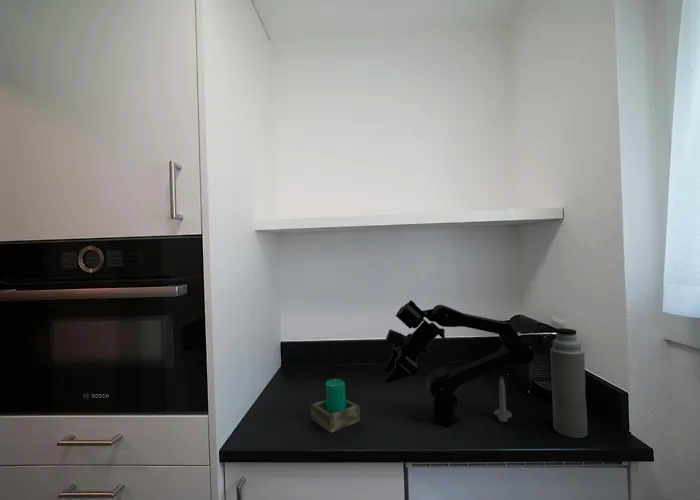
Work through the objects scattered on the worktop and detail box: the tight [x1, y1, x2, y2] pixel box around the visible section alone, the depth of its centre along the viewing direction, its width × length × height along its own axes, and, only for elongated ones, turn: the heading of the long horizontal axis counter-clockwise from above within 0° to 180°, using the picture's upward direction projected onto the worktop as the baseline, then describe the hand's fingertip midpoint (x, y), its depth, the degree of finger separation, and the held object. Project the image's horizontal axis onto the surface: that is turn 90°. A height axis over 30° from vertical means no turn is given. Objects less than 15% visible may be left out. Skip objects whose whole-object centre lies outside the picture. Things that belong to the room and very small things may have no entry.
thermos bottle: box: [549, 327, 588, 439], centre depth 97 cm, size 8×8×28 cm
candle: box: [325, 378, 346, 414], centre depth 107 cm, size 6×6×12 cm
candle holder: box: [310, 398, 361, 433], centre depth 107 cm, size 11×11×4 cm
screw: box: [493, 376, 513, 423], centre depth 104 cm, size 13×5×5 cm
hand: (385, 376), depth 105 cm, fingers open, 9 cm apart
